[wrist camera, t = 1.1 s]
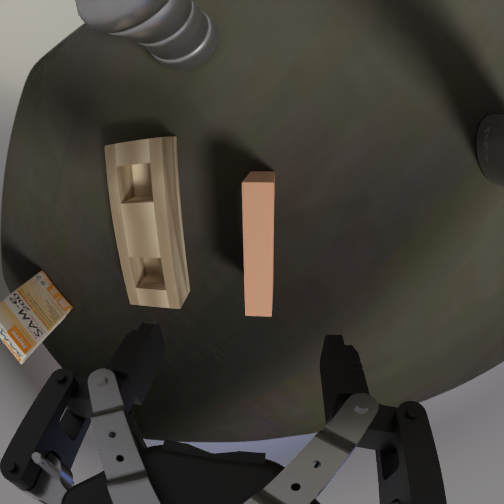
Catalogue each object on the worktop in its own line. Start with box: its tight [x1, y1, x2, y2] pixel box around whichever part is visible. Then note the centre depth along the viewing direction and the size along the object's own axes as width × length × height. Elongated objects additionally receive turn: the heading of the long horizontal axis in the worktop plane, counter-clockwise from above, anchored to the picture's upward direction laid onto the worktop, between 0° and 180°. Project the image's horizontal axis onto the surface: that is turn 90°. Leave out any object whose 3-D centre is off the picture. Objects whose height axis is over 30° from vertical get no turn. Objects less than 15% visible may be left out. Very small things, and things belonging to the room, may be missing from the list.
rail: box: [105, 136, 190, 309], centre depth 28 cm, size 6×18×4 cm, turn 1°
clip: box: [242, 171, 275, 317], centre depth 26 cm, size 2×12×7 cm, turn 0°
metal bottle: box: [75, 0, 219, 70], centre depth 13 cm, size 6×7×20 cm
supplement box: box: [0, 270, 73, 364], centre depth 31 cm, size 8×5×13 cm, turn 39°
